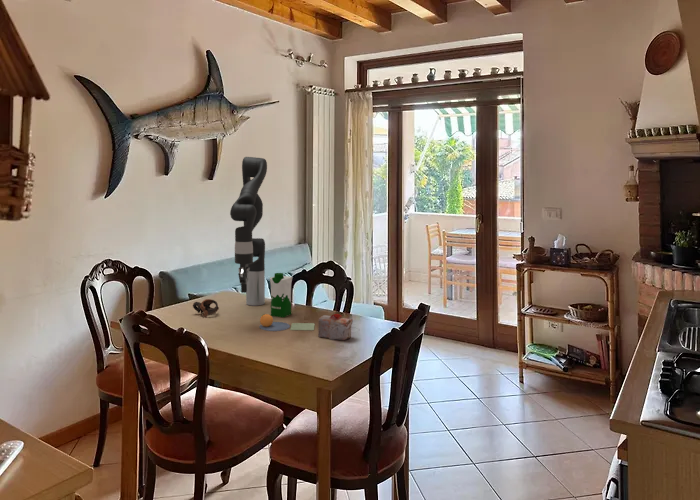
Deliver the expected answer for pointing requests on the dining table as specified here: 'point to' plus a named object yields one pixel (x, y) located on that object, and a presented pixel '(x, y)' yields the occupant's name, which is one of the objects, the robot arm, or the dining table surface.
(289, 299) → the milk carton
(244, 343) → the dining table surface
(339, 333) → the food item
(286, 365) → the dining table surface
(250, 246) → the robot arm
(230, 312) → the dining table surface
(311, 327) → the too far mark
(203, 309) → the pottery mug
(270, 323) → the ball
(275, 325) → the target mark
